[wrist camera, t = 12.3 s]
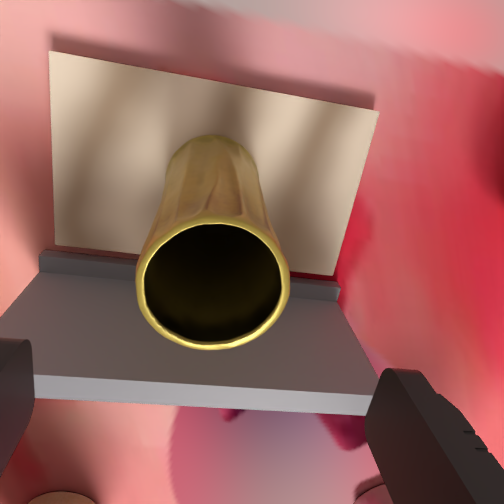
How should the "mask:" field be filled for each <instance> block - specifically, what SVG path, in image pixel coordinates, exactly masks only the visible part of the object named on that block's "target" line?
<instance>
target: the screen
mask: <svg viewBox="0 0 504 504" xmlns="http://www.w3.org/2000/svg"><path fill="white" fill-rule="evenodd" d="M137 262H138V260H134V259H124V258H115V257H106V256H97V255H88V254H79V253H70V252H60V251H51V250H44V251H43V252H42V253H41V254H40V255H39V271H40V272H39V273H38V274H37V275H36V276H35V278H34V279H33V280H32V281H31V282H30V283H29V285H28V286H27V287H26V288H25V289H24V290H23V292H22V293H21V294H20V295H19V296H18V297H17V299H16V300H15V301H14V302H13V303H12V304H11V306H10V307H9V308H8V309H7V310H6V312H5V313H4V314H3V315H2V316H1V317H0V337H3V338H16V339H28V340H29V341H30V342H31V346H32V357H33V373H34V389H35V398H47V399H65V400H84V401H103V402H121V403H140V404H159V405H177V406H196V407H215V408H233V409H252V410H270V411H289V412H308V413H326V414H345V415H363V416H366V413H367V411H368V408H369V405H370V403H371V400H372V397H373V395H374V392H375V389H376V387H377V384H378V381H379V378H378V376H377V374H376V372H375V371H374V369H373V367H372V365H371V363H370V361H369V360H368V358H367V356H366V354H365V352H364V350H363V349H362V347H361V345H360V343H359V341H358V339H357V338H356V336H355V334H354V332H353V330H352V329H351V327H350V325H349V323H348V321H347V319H346V318H345V316H344V314H343V312H342V310H341V308H340V307H339V305H338V303H337V299H338V296H339V293H340V289H341V287H340V286H339V284H338V282H335V281H326V280H317V279H307V278H298V277H290V294H289V298H288V301H287V303H286V306H285V308H284V310H283V311H282V313H281V315H280V316H279V318H278V319H277V321H276V322H275V323H274V324H273V325H272V326H271V327H270V328H269V329H268V330H267V331H266V332H265V333H263V334H262V335H260V336H259V337H257V338H256V339H254V340H252V341H250V342H248V343H246V344H243V345H240V346H237V347H233V348H230V349H221V350H198V349H193V348H189V347H185V346H182V345H180V344H178V343H175V342H173V341H171V340H169V339H167V338H165V337H164V336H162V335H161V334H159V333H158V332H157V331H156V330H155V329H154V328H153V327H152V326H151V325H150V324H149V323H148V322H147V320H146V319H145V317H144V316H143V314H142V312H141V310H140V308H139V305H138V301H137V294H136V284H135V277H136V265H137Z"/></svg>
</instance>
